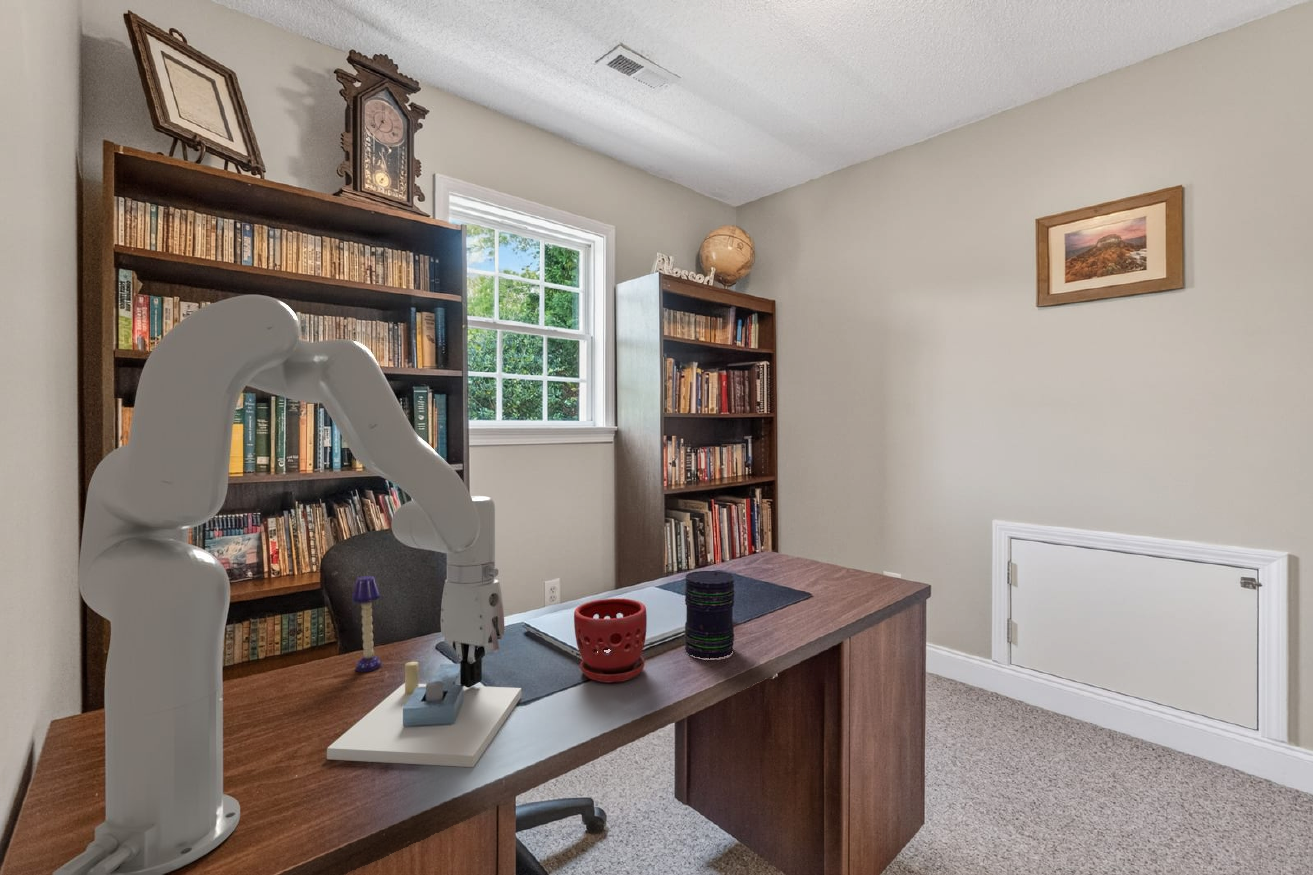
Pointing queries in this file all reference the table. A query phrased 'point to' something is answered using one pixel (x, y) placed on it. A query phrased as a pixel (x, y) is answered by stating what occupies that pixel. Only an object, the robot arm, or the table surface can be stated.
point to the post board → (427, 727)
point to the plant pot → (611, 638)
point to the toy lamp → (367, 620)
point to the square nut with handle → (436, 711)
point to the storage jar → (709, 614)
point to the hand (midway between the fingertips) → (471, 683)
